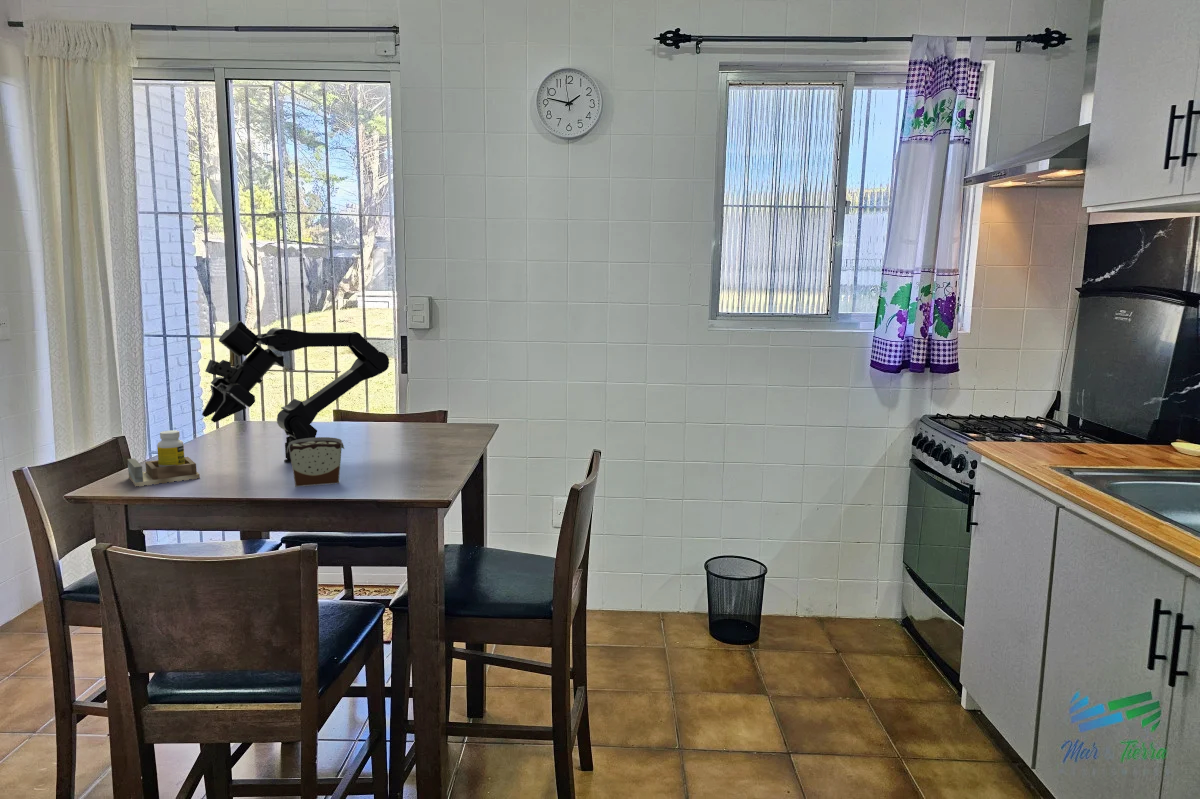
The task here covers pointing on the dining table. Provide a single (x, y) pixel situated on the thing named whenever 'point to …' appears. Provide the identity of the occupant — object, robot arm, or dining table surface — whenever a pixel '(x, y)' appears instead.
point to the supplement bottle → (170, 449)
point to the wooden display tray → (161, 472)
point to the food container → (315, 460)
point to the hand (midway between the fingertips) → (208, 418)
